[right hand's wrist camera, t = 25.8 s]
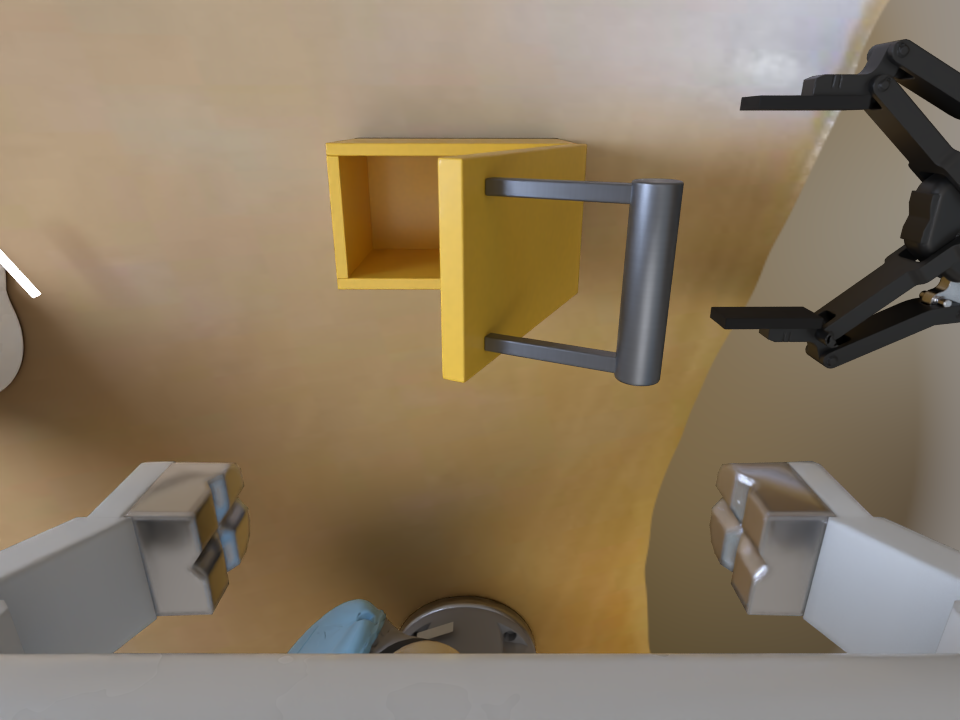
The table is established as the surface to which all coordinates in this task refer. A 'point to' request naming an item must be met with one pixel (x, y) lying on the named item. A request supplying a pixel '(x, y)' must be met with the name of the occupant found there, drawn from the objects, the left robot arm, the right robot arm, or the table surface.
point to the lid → (546, 259)
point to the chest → (395, 206)
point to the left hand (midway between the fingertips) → (732, 217)
